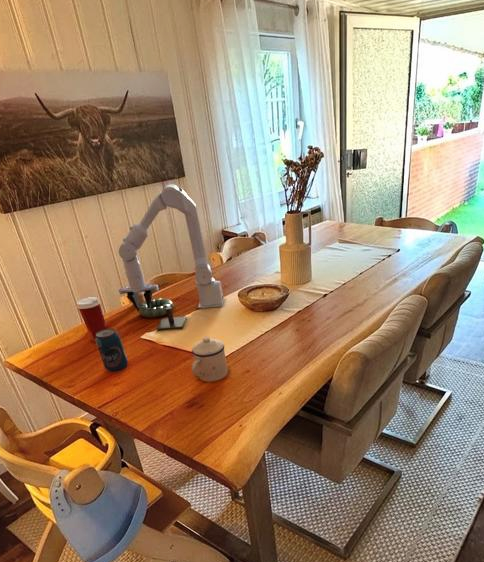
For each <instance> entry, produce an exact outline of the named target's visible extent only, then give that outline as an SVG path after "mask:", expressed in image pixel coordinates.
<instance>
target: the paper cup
mask: <svg viewBox="0 0 484 562" xmlns="http://www.w3.org/2000/svg"><path fill="white" fill-rule="evenodd" d="M76 308H77V309H78V311H79V313H80V315H81V317H82V320H83V322H84V324H85V328H86V330H87V331H88V333H89V336H90V338H91V340H92V341H93V342H94V343H96V341H95V339H96V333H97V332H98V331H100V330H103V329H108V328H107V324H106V321H105V317H104V313H103V309H102V306H101V300H99V298H98V297H97V296H89V297H83V298H81V299H79V300H78V301H76Z"/></svg>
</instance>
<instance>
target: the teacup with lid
mask: <svg viewBox="0 0 484 562" xmlns="http://www.w3.org/2000/svg"><path fill="white" fill-rule="evenodd" d="M191 353H192V354H193V359H194V361H193V362H192V363H191V366H190V368H191V373H192V374H193V375H194V376H195V377H198V378H199V380H201V381H203V382H207V383H208V382H210V383H211V382H217V381H220V380H223V379H224V378H225V377H227V375H228V372H229V370H228V369H229V368H228V365H227V363H228V362H227V359H226V353H225V344H224V342H222V341H221V340H220V339H215V338H210V337H209V336H204V337H203V338H202V340H200V341H198V342H196V343H195V344H193V346H192V348H191Z"/></svg>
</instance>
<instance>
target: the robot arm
mask: <svg viewBox="0 0 484 562" xmlns="http://www.w3.org/2000/svg"><path fill="white" fill-rule="evenodd" d="M167 208H171V209H175V210H178V211H179V212H180V213H182V214H184V217H185V222H186V226H187V231H188V236H189V240H190V244H191V250H192V254H193V258H194V265H195V267H194V271H195V272H194V273H195V275H194V276H195V286H196V289H197V296H198V301H199V303H198V305H197V308H198V309H207V308H208V309H209V308H219V307H223V305H224V304H223V303H224V301H225V298H224V295H223V293H224V292H223V286H222V282H221V281H220V280H215V278H214V277H213V272H212V267H211V264H210V263H209V262H208V258H207V254H206V253H207V252H206V248H205V244H204V238H203V234H202V228H201V224H200V219H199V214H198V207H197V205H196V203H195V202H194V201H193V200H192V198H191V197H190V196H188V194H187V193H186V192H185V190H184V189H183V188H182V187H181V186H178V185H177V184H174V183H167V184H165V185H164V186H163V188H162V190H161V191H159V192H158V194H157V195H156V196H155V197H154V198H153V200H152V201H151V203H150V204H149V207H148V209H147V210H146V211H145V213H144V215H143V217H142V219H141V220H140V222H137V223H134V224H133V225H130V227H129V228H128V229H129V232H127V235H126V236H125V237H123V239H122V243H121V244H120V246H119V248H118V255H119V257H120V258H121V259H122V263H123V268H124V271H125V272H126V273H125V276H126V275H127V276H126V279H127V282H128V286H124V287H119V288H118V292H119V295H124V294H127V295H126V298H127V299H128V300H129V301H130V302H131V303H132V304H133V306H134V307H135V309H136V311H137V312H139V311H138V309H139V307H140V305H141V304H139V302H138V298H137V292H143V296H144V299H145V302H146V303H147V307H148V308H151V300H152V297H153V292H158V291H159V289H160V288H159V285H158V284H146V282H145V281H146V280H145V277H144V274H143V270H142V266H141V263H140V260H139V256H138V250H140V249H141V248H142V247H143V245H144V243H145V241H146V240H147V238H148V236H149V235H150V233H149V228H150V226H151V225H152V223H153V222H154V220H155V219H156V217H157V216H158V214H159V213H160V212H161V211H164V210H167ZM129 285H130V286H129Z"/></svg>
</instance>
